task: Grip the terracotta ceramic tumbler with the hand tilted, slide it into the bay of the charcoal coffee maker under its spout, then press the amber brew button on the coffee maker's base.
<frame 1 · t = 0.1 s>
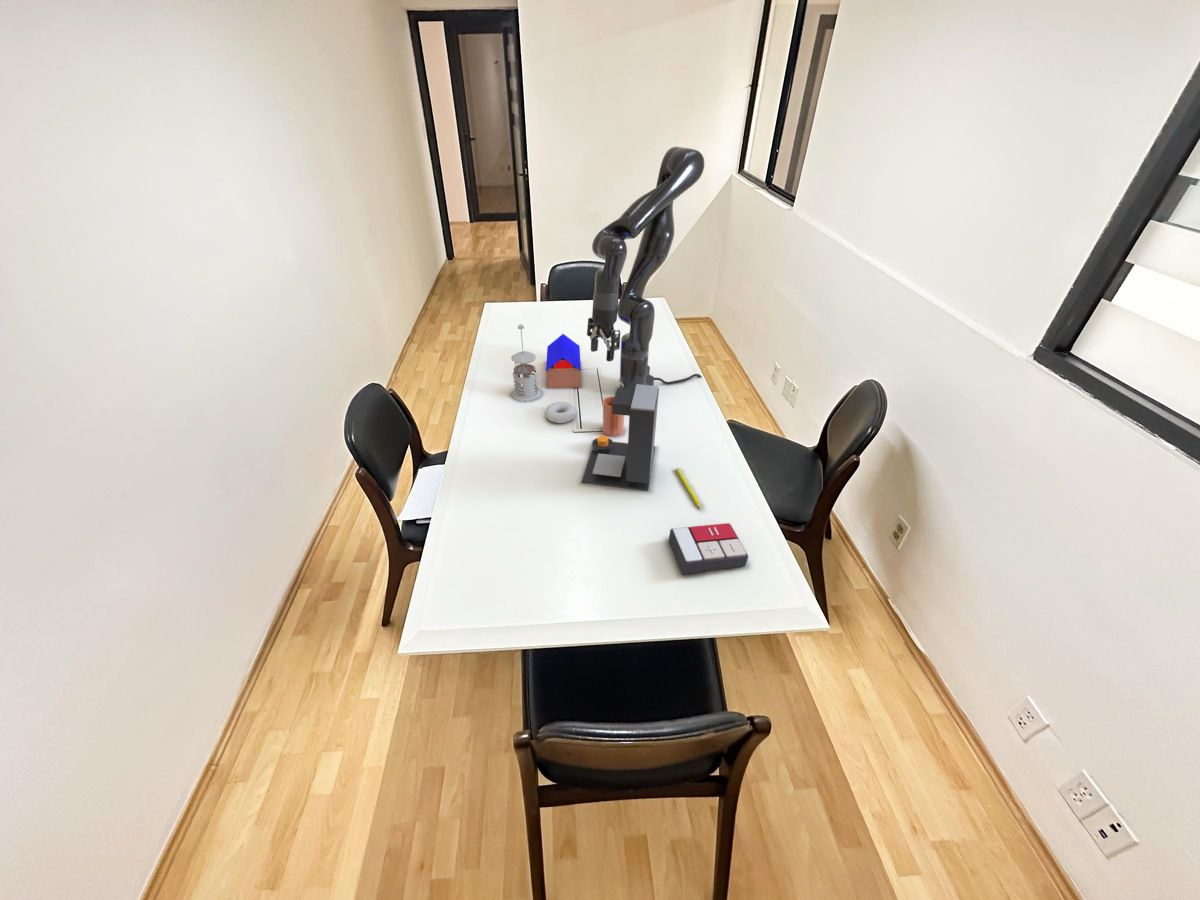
hand: (601, 355, 165), 17 cm above the table, tool pointing down, fingers open, 8 cm apart
brew button: (602, 441, 151), point 3 cm above the table, slide at 0.1 cm
house: (564, 375, 191), on the table
pencil: (688, 490, 139), on the table
coffee maker: (624, 432, 136), on the coffee maker base, point 14 cm above the table
french press: (525, 393, 180), on the table
calculator: (706, 553, 121), on the table
coffee maker base: (620, 464, 148), on the table
tumbler: (613, 431, 162), on the table
donut: (561, 417, 168), on the table
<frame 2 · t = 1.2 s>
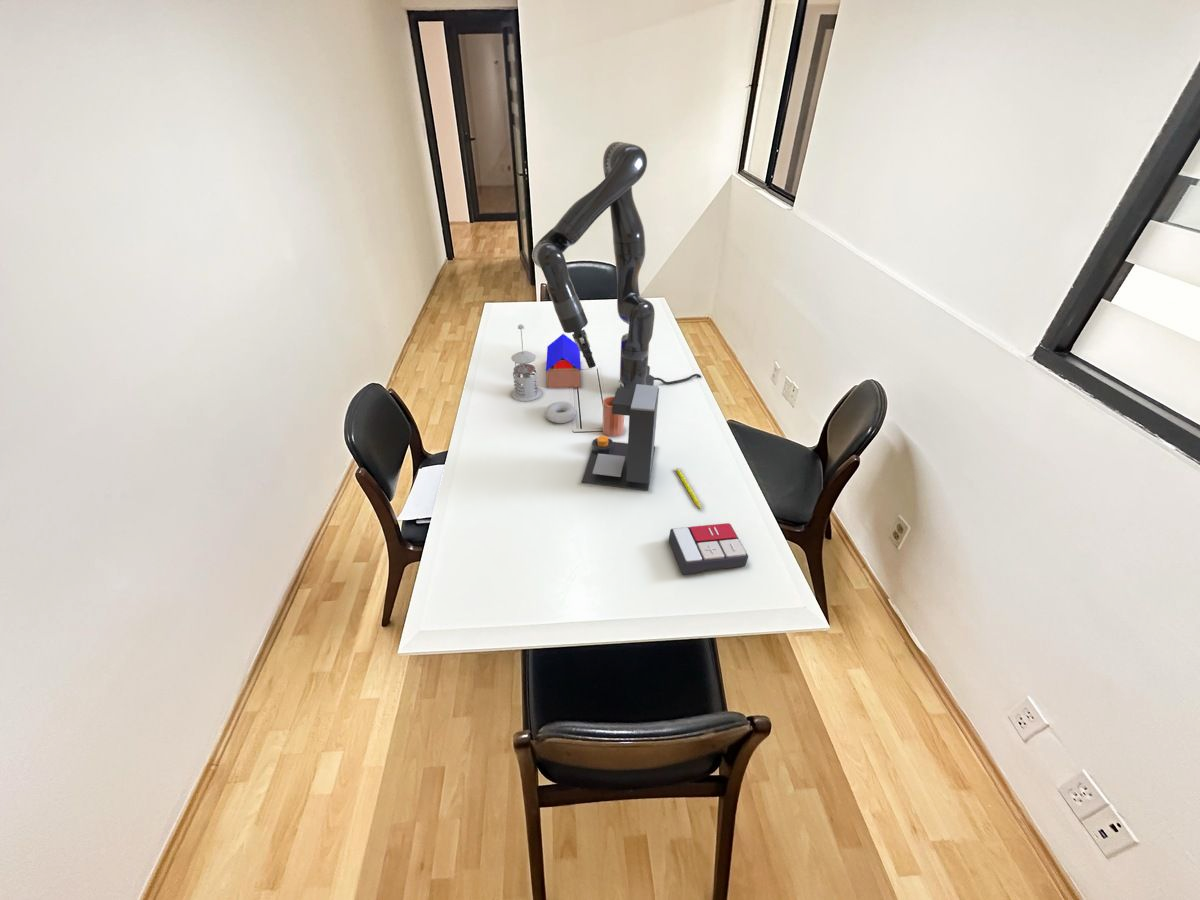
hand: (590, 362, 158), 19 cm above the table, tool tilted 20°, fingers open, 8 cm apart
nothing on the table moved.
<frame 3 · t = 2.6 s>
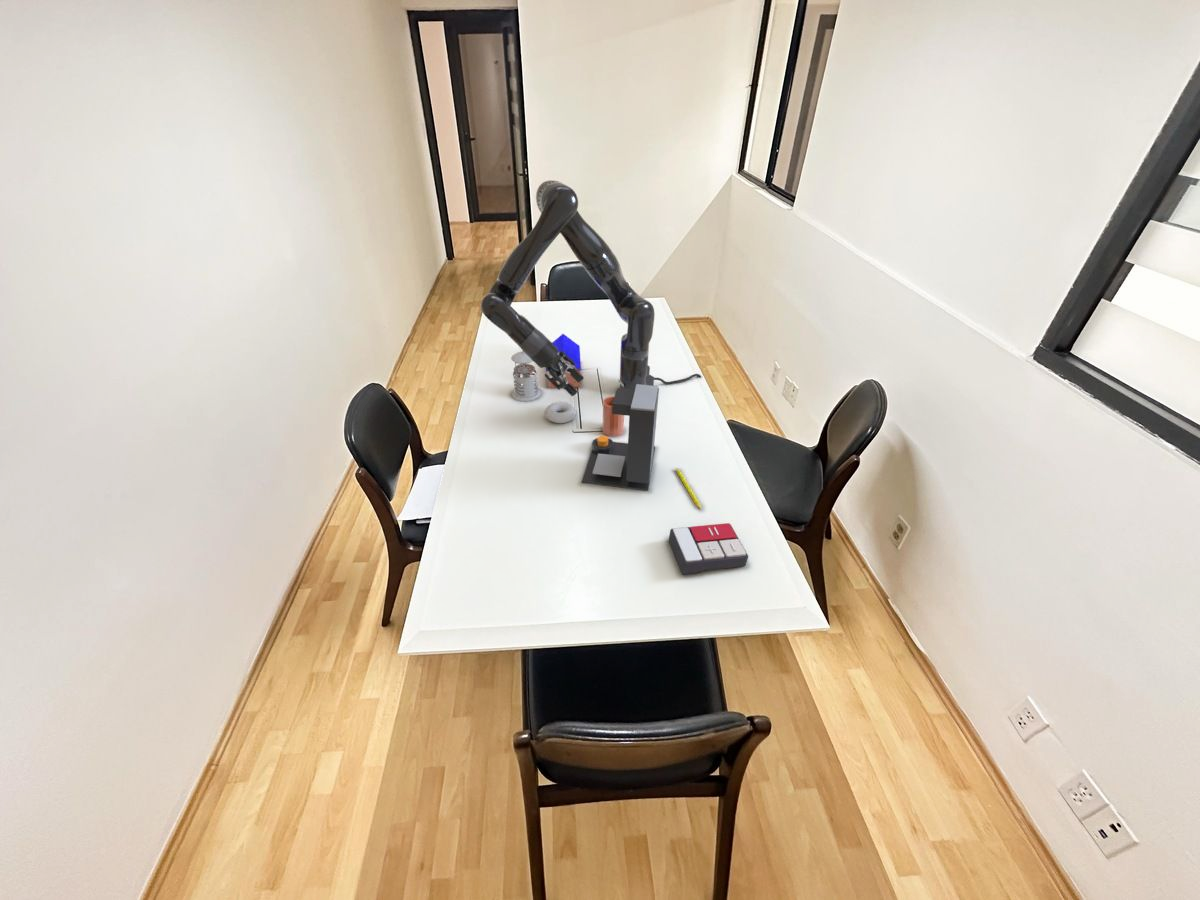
hand: (578, 387, 155), 14 cm above the table, tool tilted 45°, fingers open, 8 cm apart
nothing on the table moved.
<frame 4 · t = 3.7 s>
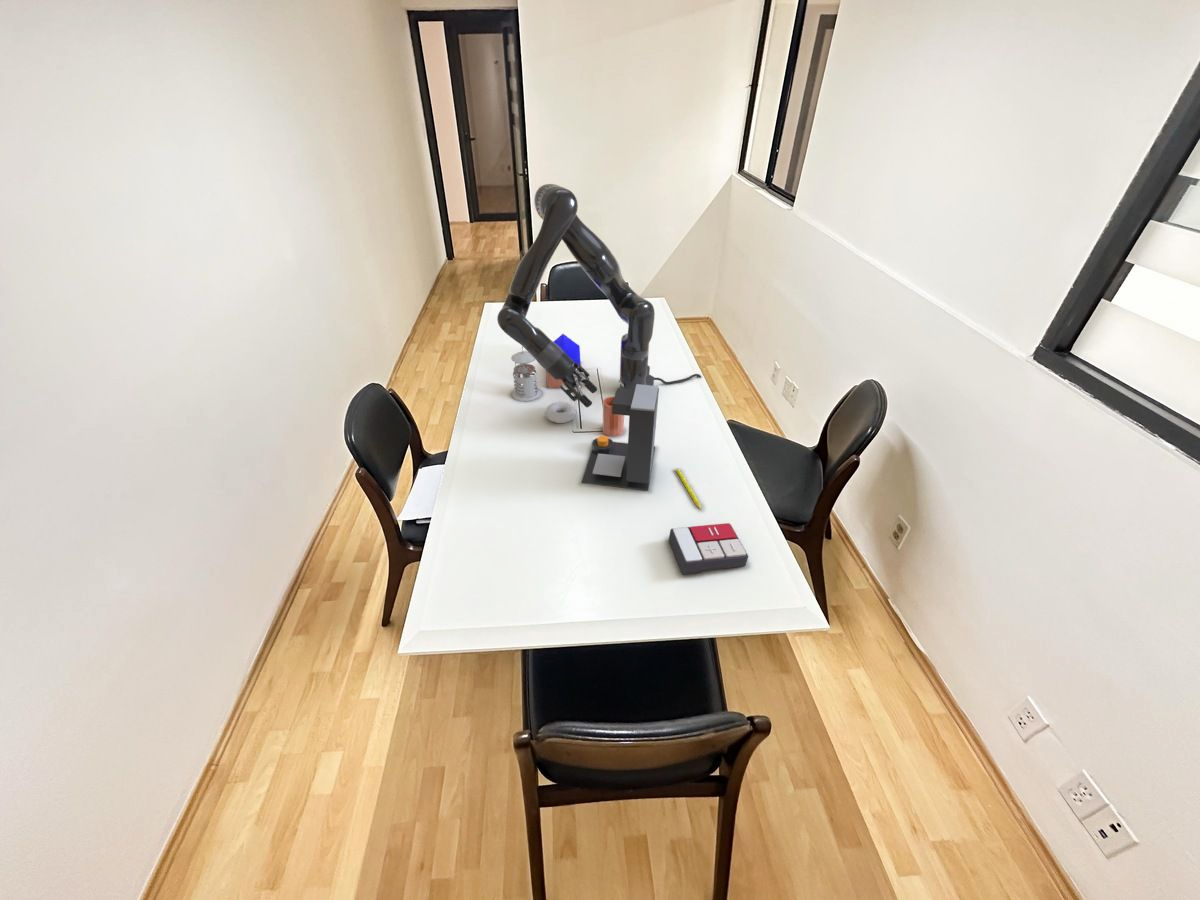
hand: (592, 398, 156), 11 cm above the table, tool tilted 45°, fingers open, 8 cm apart
nothing on the table moved.
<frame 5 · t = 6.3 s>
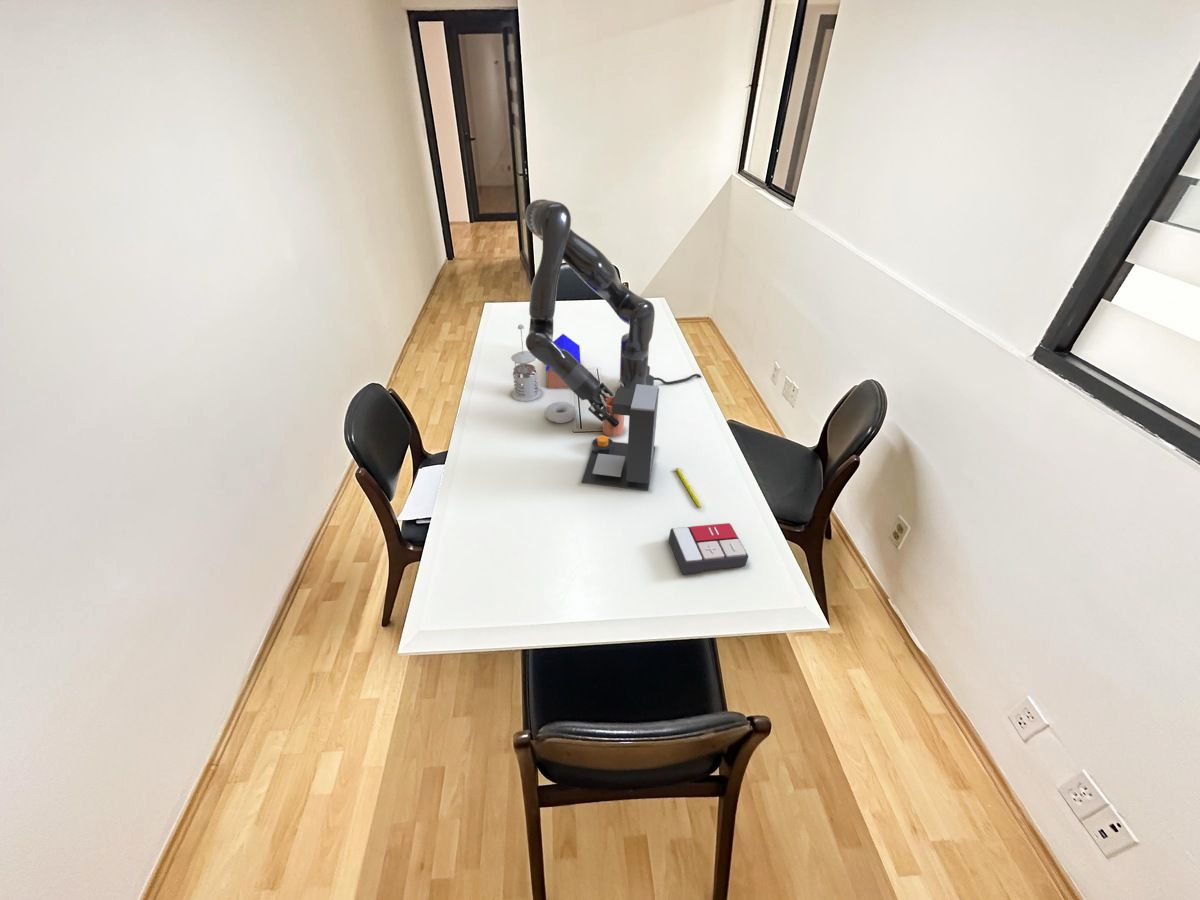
hand: (618, 418, 159), 5 cm above the table, tool tilted 45°, fingers closed on tumbler, 6 cm apart
tumbler: (613, 430, 162), on the table, touching gripper
everything else where it was.
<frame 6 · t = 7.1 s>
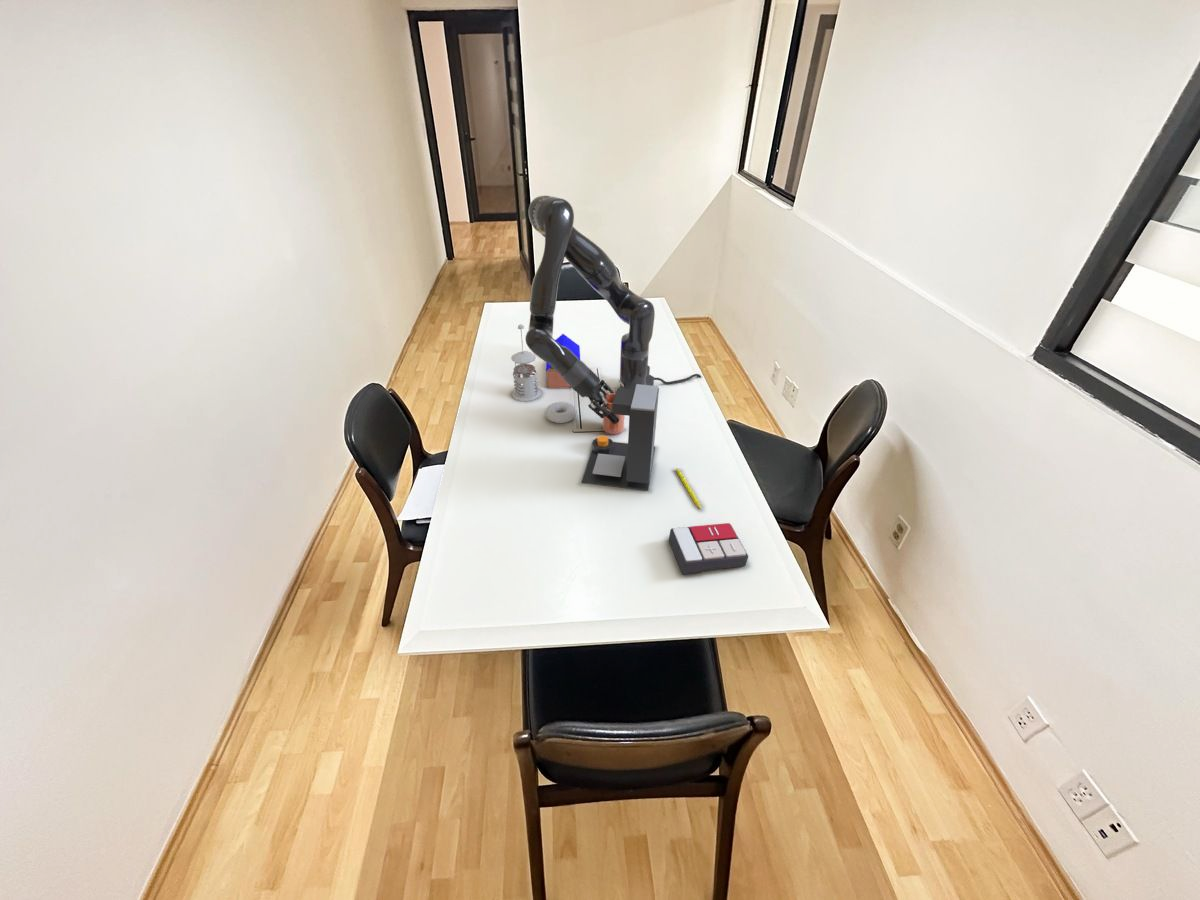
hand: (619, 415, 158), 6 cm above the table, tool tilted 45°, fingers closed on tumbler, 6 cm apart
tumbler: (613, 428, 161), point 1 cm above the table, touching gripper
everything else where it was.
when the fingers open (7 cm above the table, at t = 18.2 s): tumbler stays where it is, resting on coffee maker.
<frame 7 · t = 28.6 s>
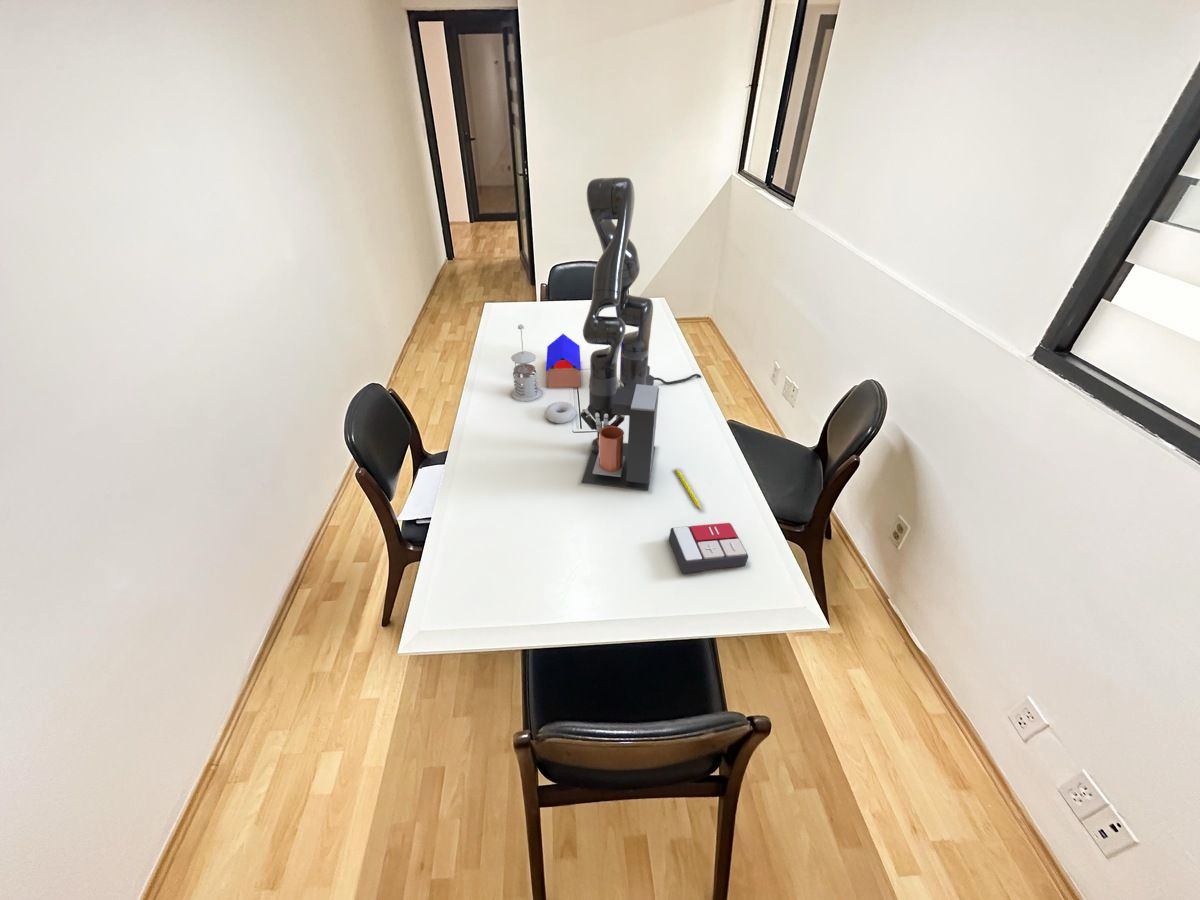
hand: (602, 441, 151), 3 cm above the table, tool pointing down, fingers closed
brew button: (602, 443, 152), point 2 cm above the table, slide at -0.8 cm, touching gripper
tumbler: (610, 464, 143), point 3 cm above the table, touching coffee maker
everything else where it was.
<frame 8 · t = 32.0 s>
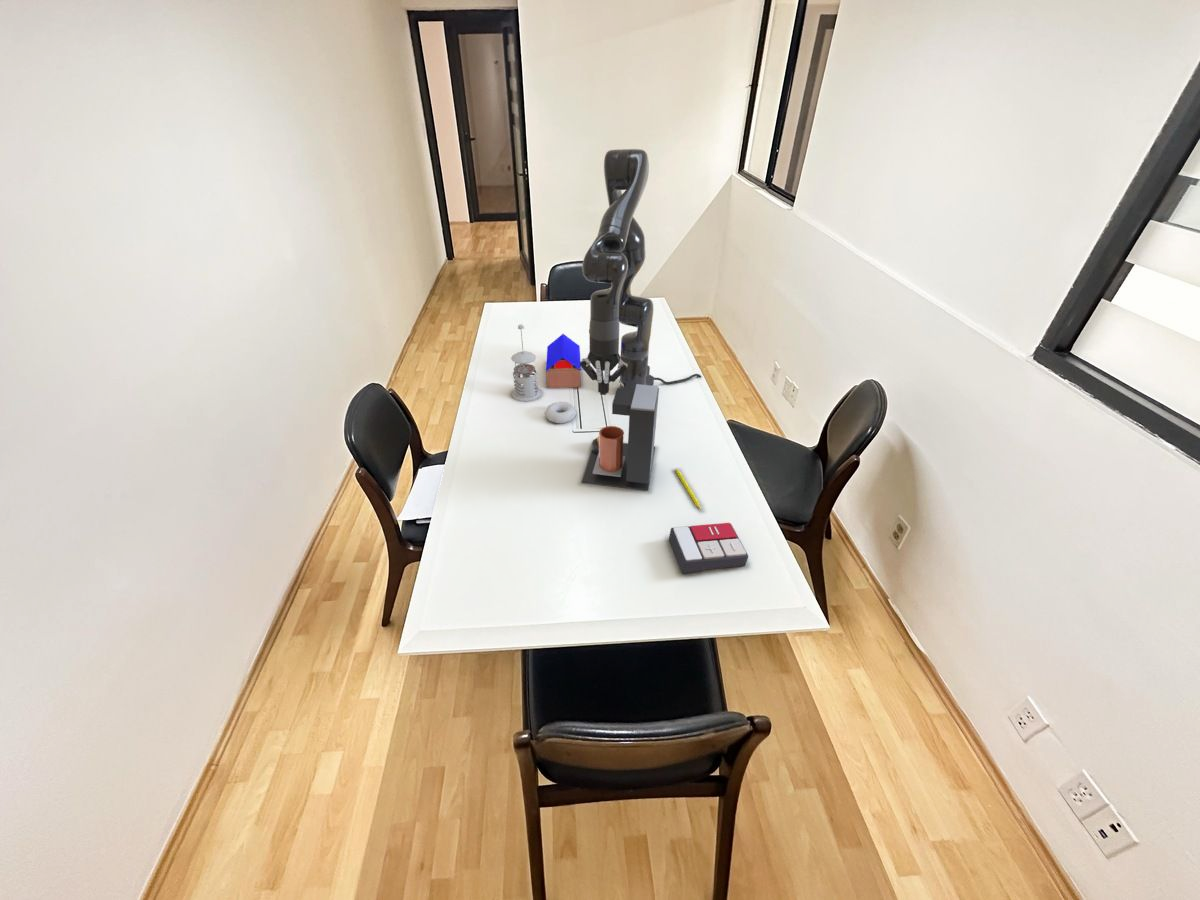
hand: (603, 393, 142), 19 cm above the table, tool pointing down, fingers closed
brew button: (602, 441, 151), point 3 cm above the table, slide at 0.1 cm
everything else where it was.
at the end: tumbler 0.1 cm from the target spot on the coffee maker, point 2.8 cm above the coffee maker's base; brew button pushed in 1.1 cm at the most during the clip, back to where it started at the end; brew button slide at 0.1 cm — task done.
